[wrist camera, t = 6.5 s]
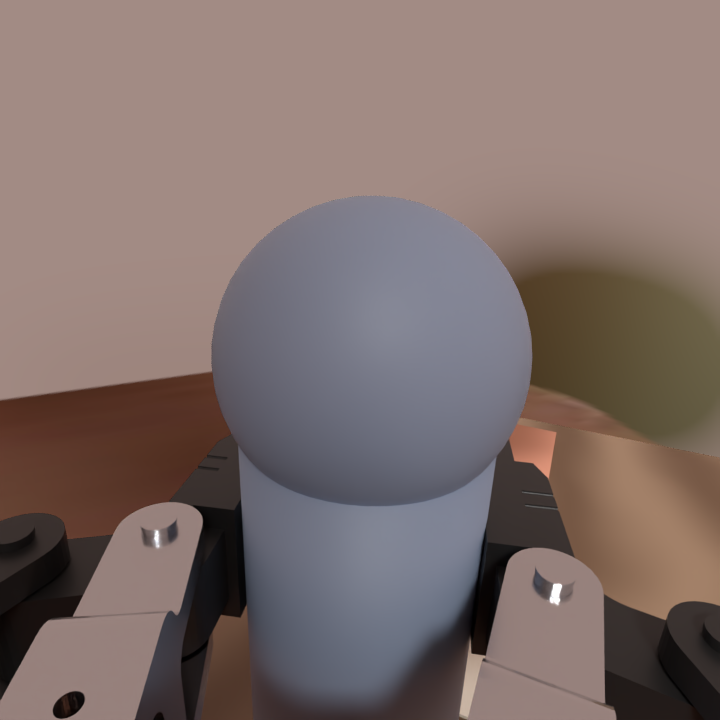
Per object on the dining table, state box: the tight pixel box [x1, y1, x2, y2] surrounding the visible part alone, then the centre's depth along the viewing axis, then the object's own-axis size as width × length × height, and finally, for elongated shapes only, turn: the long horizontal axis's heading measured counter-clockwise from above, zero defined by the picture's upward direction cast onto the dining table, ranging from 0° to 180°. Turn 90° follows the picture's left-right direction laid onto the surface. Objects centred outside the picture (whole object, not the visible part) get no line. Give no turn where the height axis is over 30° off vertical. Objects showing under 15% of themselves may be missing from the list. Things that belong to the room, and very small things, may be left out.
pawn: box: [212, 196, 532, 720], centre depth 9 cm, size 5×5×13 cm
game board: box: [201, 418, 720, 720], centre depth 18 cm, size 18×26×1 cm
